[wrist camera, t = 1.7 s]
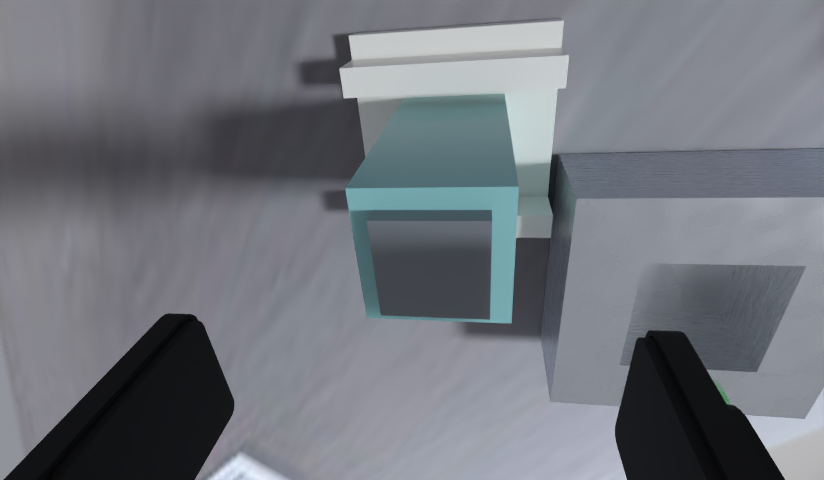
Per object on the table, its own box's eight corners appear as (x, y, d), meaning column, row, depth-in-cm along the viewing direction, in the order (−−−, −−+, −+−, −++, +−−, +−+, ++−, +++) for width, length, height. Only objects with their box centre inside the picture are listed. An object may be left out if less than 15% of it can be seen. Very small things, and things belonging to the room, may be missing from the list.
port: (558, 154, 21) (579, 205, 17) (839, 148, 19) (953, 204, 15) (540, 336, 27) (551, 411, 23) (751, 345, 25) (812, 429, 21)
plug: (404, 97, 20) (338, 198, 11) (504, 93, 19) (520, 197, 10) (412, 187, 22) (362, 330, 13) (501, 186, 22) (512, 337, 13)
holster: (354, 33, 20) (335, 41, 17) (560, 18, 18) (571, 25, 16) (379, 224, 25) (367, 253, 22) (541, 225, 23) (548, 255, 21)
